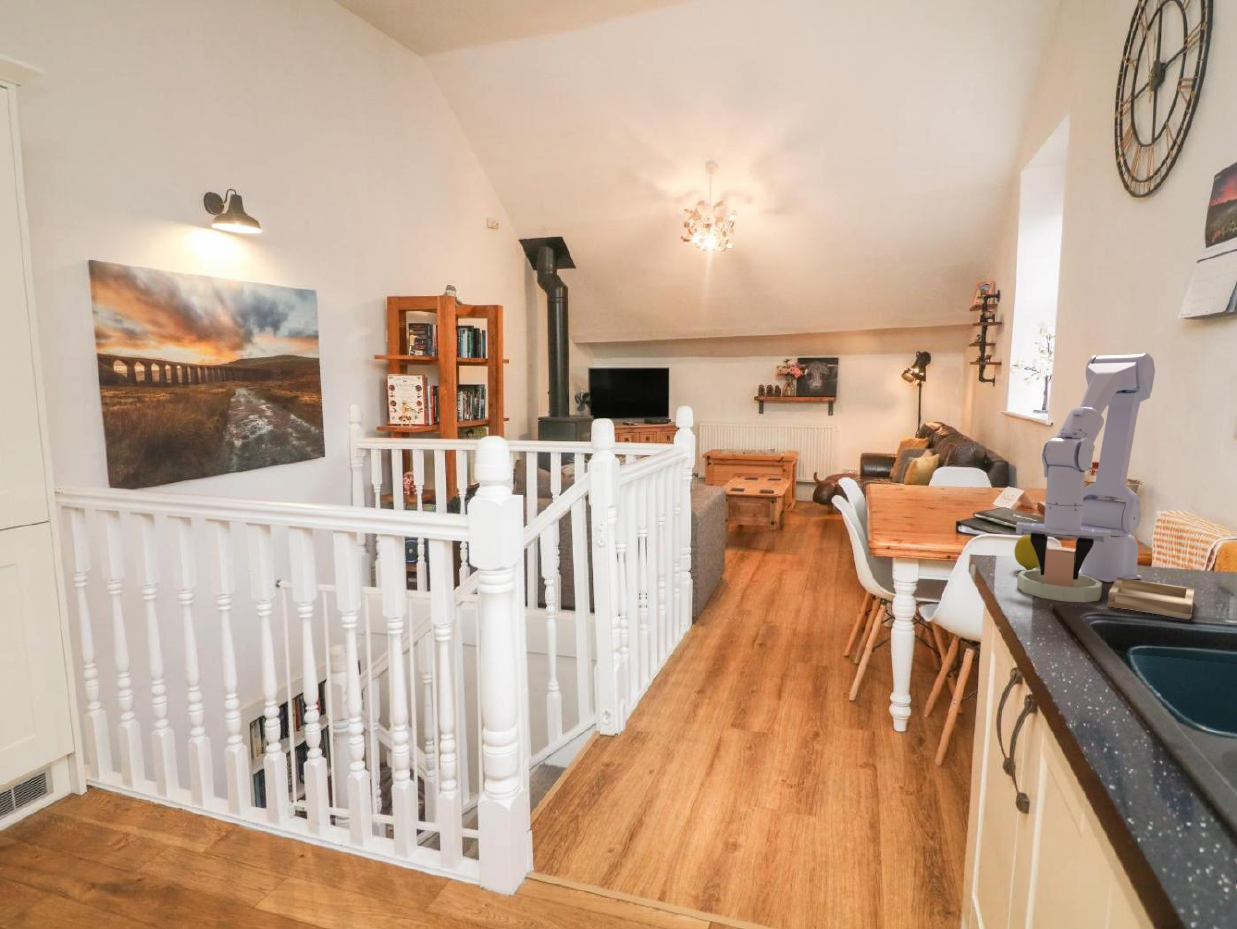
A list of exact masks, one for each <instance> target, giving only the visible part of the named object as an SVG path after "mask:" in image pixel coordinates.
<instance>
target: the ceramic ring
mask: <svg viewBox="0 0 1237 929" xmlns="http://www.w3.org/2000/svg"><path fill="white" fill-rule="evenodd" d="M1016 588H1018V589H1019V590H1020V591H1021V592H1023V593H1025V594H1028V595H1031V596H1033V597H1034V596H1035V597H1037V598H1040V599H1047V600H1052V601H1060V602H1068V603H1069V602H1070V603H1071V602H1072V603H1090V602H1097V601H1100V600H1101V598H1102V592H1103V581H1101V580H1097V579H1095V578H1092V577H1088V576H1085V575H1081V574H1079V575H1078V580H1075V579H1074V585H1073V587H1066V586H1058V585H1051V584H1045V583H1044V575H1041V571H1040V568H1039V569H1037V568H1034V569H1032V570H1026V569H1025V570H1021V571H1020V572H1019V573H1017V581H1016Z"/></svg>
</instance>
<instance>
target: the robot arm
mask: <svg viewBox="0 0 1237 929" xmlns="http://www.w3.org/2000/svg"><path fill="white" fill-rule="evenodd" d="M1155 374H1156V368H1155V361H1154V358H1153V357H1152V356H1151V355H1150V354H1149V353H1146V352H1144V353H1142V354H1119V355H1117V354H1116V355H1114V354H1113V355H1098V354H1095V355H1093V356H1091V358H1090V359H1089V360H1088V361H1087V363H1086V367H1085V379H1086V383H1087V388H1086V391H1085V393H1084V396H1083V398H1082V401H1081V404H1080V406H1079V407H1076V408H1074V409H1072V410H1071V411H1070V412H1069V413H1068V414H1067V417H1066V418H1065V421H1064V422H1063V424H1062V426H1061V428H1060V430H1059V432H1058V433H1057V435H1056V437H1053V438H1052V439H1049V440H1047V441H1046V442H1045V444H1044V446H1043V448H1042V453H1041V461H1042V466H1043V476H1044V477H1045V478H1046V491H1045V505H1044V521H1043V522H1044V523H1034V522H1033V523H1031V522H1020V521H1019V522H1016V524H1015V525H1016V527H1015V534H1016V535H1028V534H1030V535H1031V538H1030V541H1031V543H1032V545H1033V547H1034V550H1035V552H1036V555H1037V557H1038V561H1039V565H1040V566H1039V570H1040V571H1041V575H1044V571H1045V555H1046V549H1047V547H1048V538H1049V537H1051V538H1060V539H1069V540H1071V539H1072V540H1076V542H1075V549H1076V556H1075V566H1074V572H1073V579H1075V580H1078V575H1079V574H1081V575H1085V576H1088V577H1092V578H1095V579H1096V580H1098V581H1100V582H1106V583H1112V582H1113V583H1114V582H1115V581H1116V579H1117V577H1118V578H1125V579H1132V580H1138V579H1141V577H1142V576H1141V575H1139V574H1137V573H1138V572H1137V571H1138V560H1139V558H1138V557H1139V544H1138V540H1137V539H1136V537H1134V535H1132V534H1133V533H1134V532H1136V531H1137V529H1138V527H1139V526H1140V523H1141V522H1140V521H1141V498H1140V496H1139V494H1137V493H1136V492H1135V491H1134V490H1132V489H1131V488H1130V487H1129V486H1127V485H1126V484H1127V477H1128V472H1129V466H1130V459H1131V455H1132V448H1133V443H1134V438H1135V437H1134V436H1135V431H1136V425H1137V418H1138V413H1139V410H1140V405H1141V403H1142V402H1144V401H1146V400H1148V399H1150V398H1151V393H1152V391H1153V386H1154V380H1155V376H1156V375H1155ZM1107 407H1108V409H1107ZM1106 409H1107V414H1106V420H1105V421H1104V417H1103V415H1102V414H1103V413H1104V411H1105V410H1106ZM1103 426H1104V431H1103V437H1102V443H1101V447H1100V454H1099V460H1098V461H1099V462H1098V467H1097V471H1096V472H1097V473H1096V477H1095V478H1096V479H1095V482H1093V483H1091V484H1089V485H1087V486H1085V477H1086V476H1085V475H1086V471H1088V470H1089V468H1090V466H1091V465H1092V462H1093V457H1094V451H1095V449H1096V447H1095V444H1094V443H1095V441H1096V439H1097V437H1098V435H1099V434H1100V431H1101V430H1102V428H1103Z"/></svg>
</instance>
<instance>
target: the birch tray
mask: <svg viewBox="0 0 1237 929" xmlns="http://www.w3.org/2000/svg"><path fill="white" fill-rule="evenodd" d="M1194 598H1195V588H1194V587H1190V586H1189V587H1188V586H1181V585H1173V584H1166V583H1161V582H1152V581H1146V580H1138V579H1125V578H1118V577H1117V579H1116V581H1114V582H1113V584H1112V586H1111V588H1110V589H1109V591H1108V593H1107V608H1111V607H1114V608H1113V609H1117V608H1127V609H1133V610H1139V611H1148V612H1154V613H1159V614H1162V615H1174V616H1180V617H1187V618H1188V617H1189V618H1191V619H1192V614H1191V613H1192V612H1193V607H1194Z"/></svg>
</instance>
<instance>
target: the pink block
mask: <svg viewBox="0 0 1237 929" xmlns="http://www.w3.org/2000/svg"><path fill="white" fill-rule="evenodd" d="M1075 557H1076V548H1072V547H1071V548H1070V547H1061V546H1053V545H1047V549H1046V555H1045V571H1044V583H1045V584H1051V585H1058V586H1066V587H1073V585H1074V579H1073V572H1074V566H1075Z"/></svg>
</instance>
